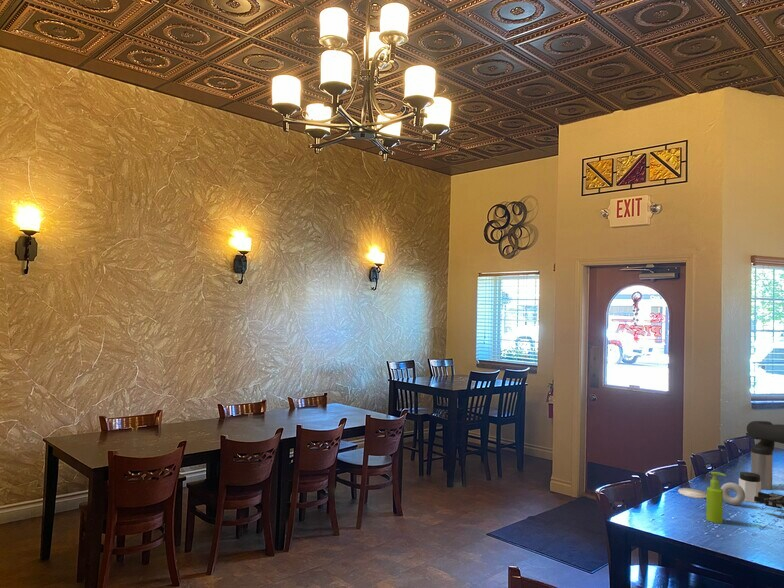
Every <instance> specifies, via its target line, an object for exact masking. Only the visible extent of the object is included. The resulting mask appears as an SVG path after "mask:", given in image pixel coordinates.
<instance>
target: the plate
mask: <svg viewBox="0 0 784 588" xmlns="http://www.w3.org/2000/svg"><path fill="white" fill-rule="evenodd" d="M678 492H679V493H680V495H681V494H682V495H681V496H683V495H684V496H683V497H686V496H687V497H688V498H691V499H697V498H699V499H698V500H701V499H702V498H703V500H704V498H706V499H707V491H704V490H699V489H695V488H688V487H683V488H679V489H678V490H677V493H678ZM679 493H678V494H679ZM687 497H686V498H687Z"/></svg>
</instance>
